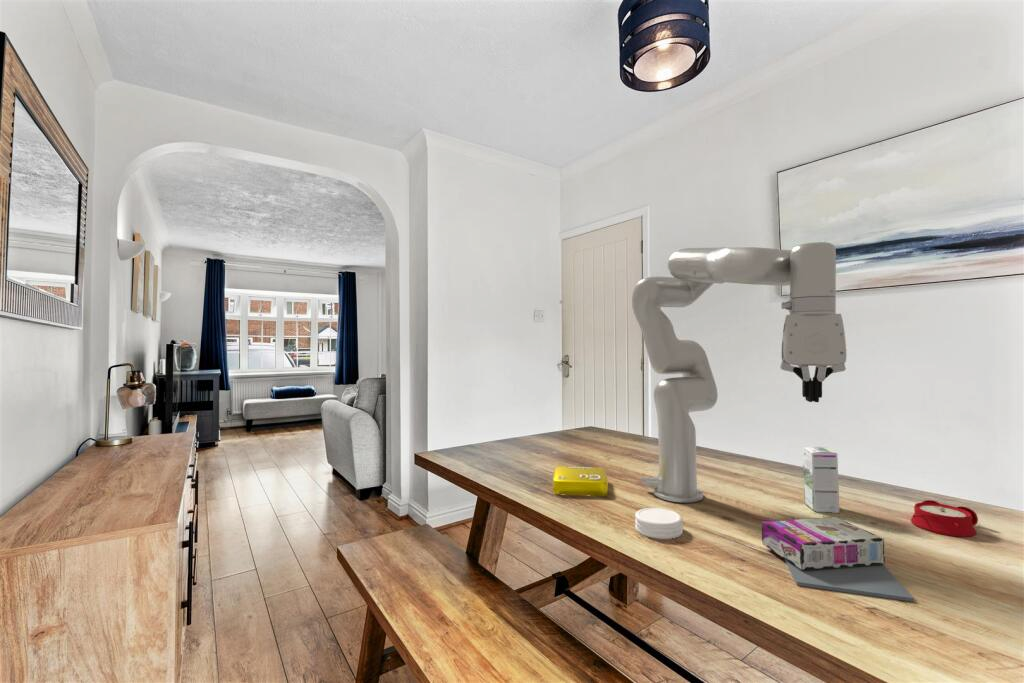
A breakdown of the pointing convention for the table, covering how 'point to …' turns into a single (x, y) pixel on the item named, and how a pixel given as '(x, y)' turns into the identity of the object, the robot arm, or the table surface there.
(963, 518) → the alarm clock
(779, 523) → the candy bar box
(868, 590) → the slate mat
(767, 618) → the table surface
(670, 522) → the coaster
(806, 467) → the syrup box
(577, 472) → the element tile
